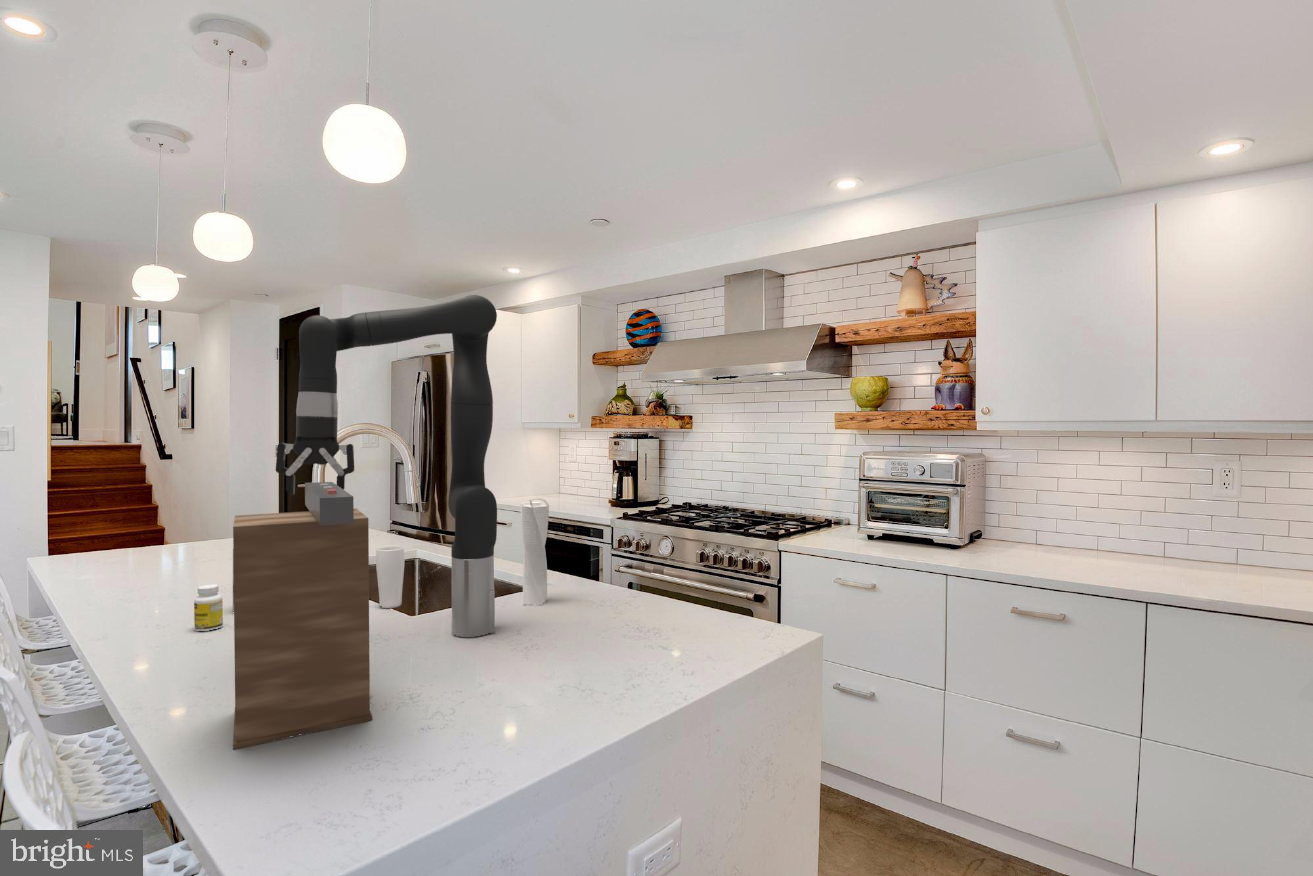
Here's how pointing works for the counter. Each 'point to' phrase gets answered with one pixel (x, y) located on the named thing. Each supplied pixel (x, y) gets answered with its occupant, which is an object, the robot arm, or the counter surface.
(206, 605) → the supplement bottle
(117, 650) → the counter surface
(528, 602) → the twisted white column
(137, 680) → the counter surface
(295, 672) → the brown tall block
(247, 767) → the counter surface
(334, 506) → the power strip
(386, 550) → the drinking glass
